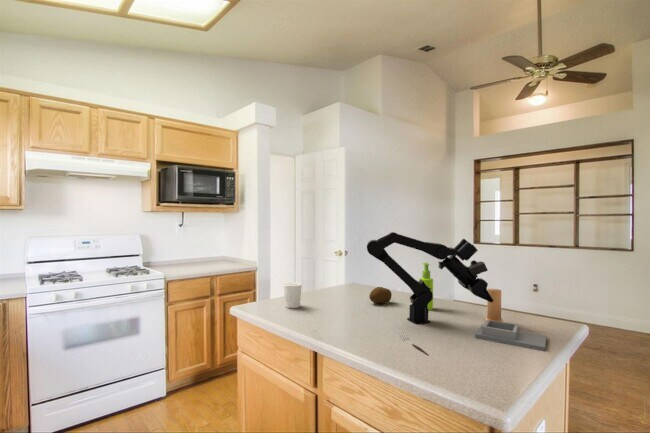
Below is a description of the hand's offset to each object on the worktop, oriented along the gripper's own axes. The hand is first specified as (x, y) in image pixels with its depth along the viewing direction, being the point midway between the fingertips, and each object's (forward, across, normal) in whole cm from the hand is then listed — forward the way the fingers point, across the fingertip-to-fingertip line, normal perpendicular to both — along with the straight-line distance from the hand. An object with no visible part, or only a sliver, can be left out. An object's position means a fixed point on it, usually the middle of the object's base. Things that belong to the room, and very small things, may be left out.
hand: (487, 298), depth 132 cm
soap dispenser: (-7, +20, +21) cm, 30 cm away
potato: (-21, +26, +35) cm, 48 cm away
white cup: (-49, +15, +62) cm, 81 cm away
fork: (-15, -26, +29) cm, 42 cm away
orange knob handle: (+8, 0, +5) cm, 10 cm away
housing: (+8, -15, +5) cm, 18 cm away
